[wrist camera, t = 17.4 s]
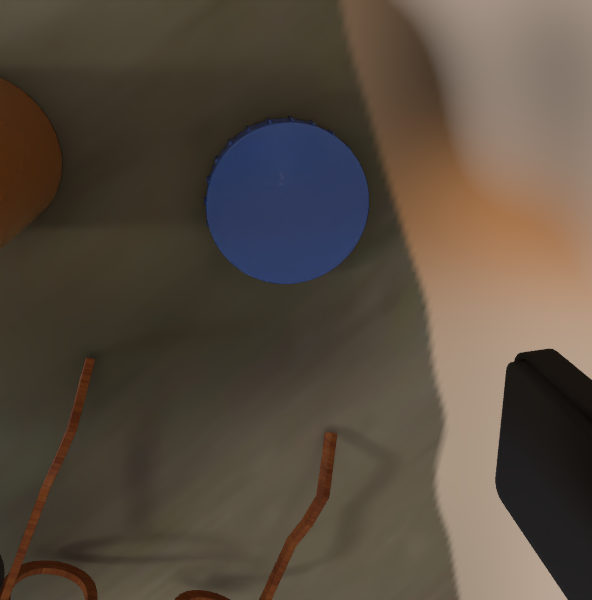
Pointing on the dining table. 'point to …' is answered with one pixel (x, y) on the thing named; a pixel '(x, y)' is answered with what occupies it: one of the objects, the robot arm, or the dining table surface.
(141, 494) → the dining table surface
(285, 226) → the lid
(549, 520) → the robot arm
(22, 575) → the glasses
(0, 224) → the jar
